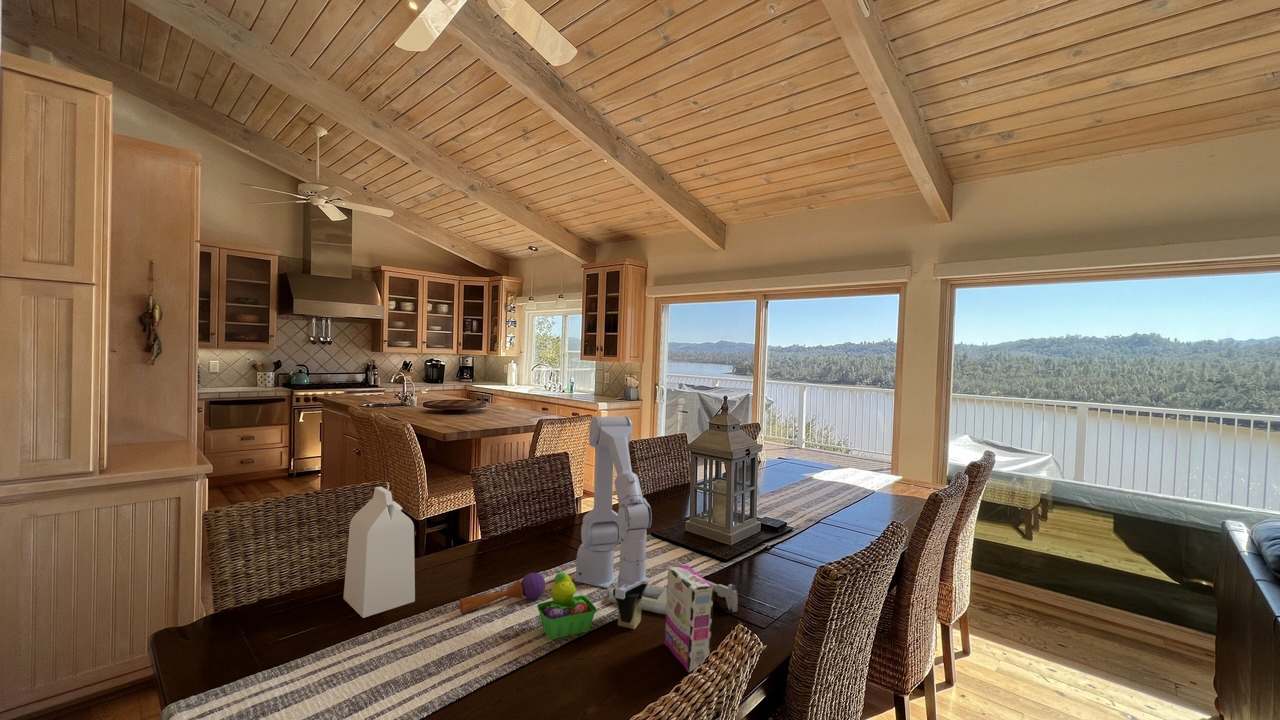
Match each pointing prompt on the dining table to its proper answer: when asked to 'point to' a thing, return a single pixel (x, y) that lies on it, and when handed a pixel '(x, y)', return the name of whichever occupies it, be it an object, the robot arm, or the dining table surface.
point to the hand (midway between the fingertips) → (629, 616)
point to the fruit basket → (566, 610)
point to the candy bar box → (688, 616)
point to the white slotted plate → (649, 603)
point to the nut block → (635, 618)
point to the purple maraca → (507, 593)
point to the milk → (380, 557)
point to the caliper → (727, 595)
